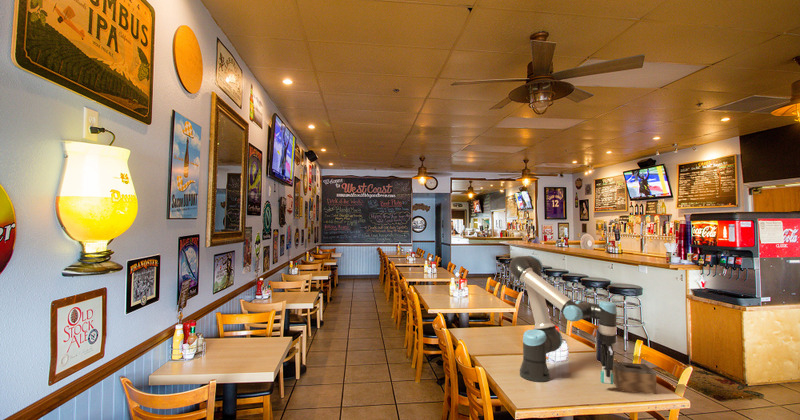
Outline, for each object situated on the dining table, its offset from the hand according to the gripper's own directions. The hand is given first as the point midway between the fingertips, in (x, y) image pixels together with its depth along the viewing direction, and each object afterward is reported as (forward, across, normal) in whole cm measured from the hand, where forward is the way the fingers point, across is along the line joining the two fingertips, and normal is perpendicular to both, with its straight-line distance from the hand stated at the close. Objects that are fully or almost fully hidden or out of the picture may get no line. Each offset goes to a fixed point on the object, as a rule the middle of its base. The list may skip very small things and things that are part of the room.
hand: (606, 381), depth 180 cm
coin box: (+4, +8, -15) cm, 17 cm away
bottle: (+5, +46, -13) cm, 48 cm away
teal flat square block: (+1, 0, 0) cm, 1 cm away
